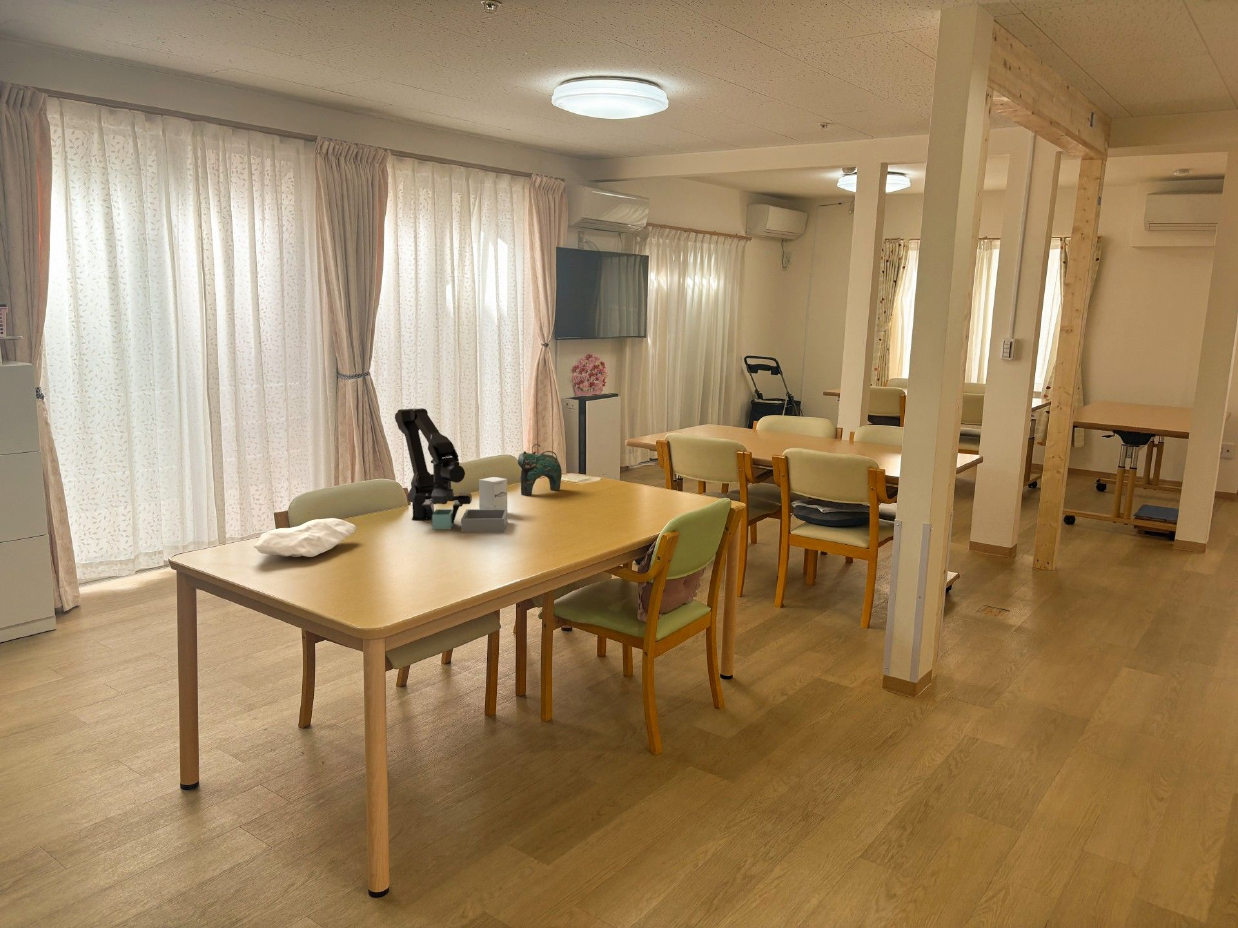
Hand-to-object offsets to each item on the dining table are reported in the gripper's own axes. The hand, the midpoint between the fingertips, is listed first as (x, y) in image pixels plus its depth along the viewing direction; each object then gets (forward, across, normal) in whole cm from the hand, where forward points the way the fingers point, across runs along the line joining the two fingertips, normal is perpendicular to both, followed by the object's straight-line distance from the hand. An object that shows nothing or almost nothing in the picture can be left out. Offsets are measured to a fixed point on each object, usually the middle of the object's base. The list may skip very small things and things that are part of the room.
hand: (443, 523), depth 296 cm
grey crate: (+1, +14, -1) cm, 14 cm away
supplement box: (+1, +15, +19) cm, 24 cm away
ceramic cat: (+1, +30, +55) cm, 63 cm away
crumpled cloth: (+1, -37, -31) cm, 48 cm away
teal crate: (+1, 0, 0) cm, 1 cm away
